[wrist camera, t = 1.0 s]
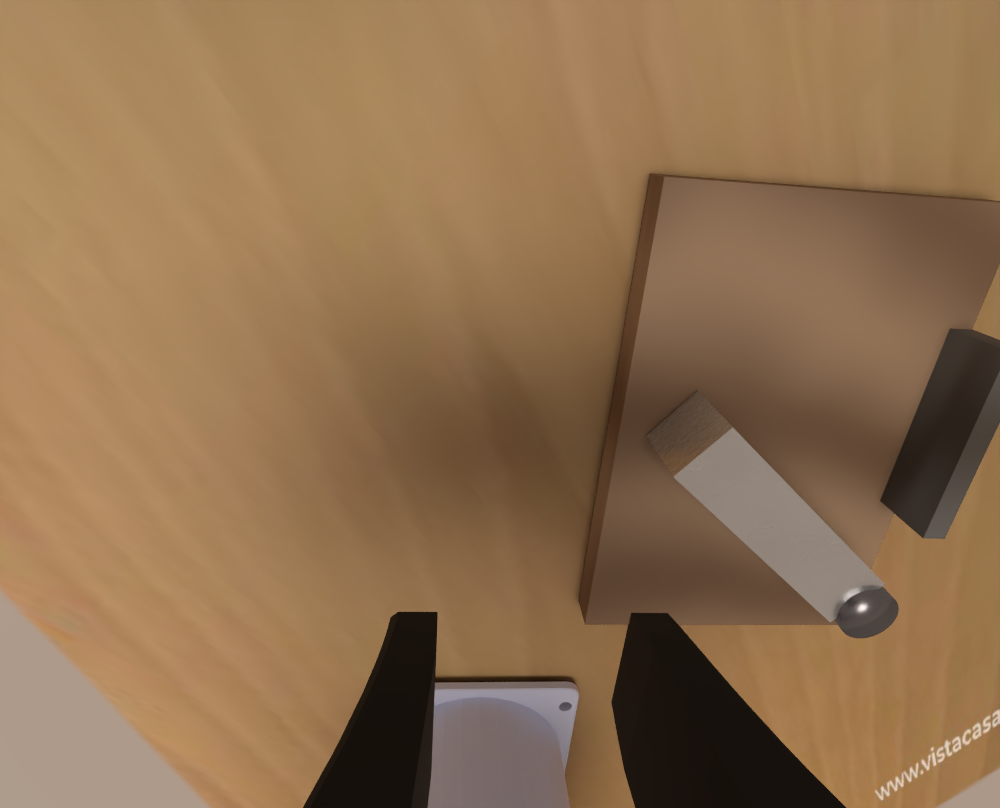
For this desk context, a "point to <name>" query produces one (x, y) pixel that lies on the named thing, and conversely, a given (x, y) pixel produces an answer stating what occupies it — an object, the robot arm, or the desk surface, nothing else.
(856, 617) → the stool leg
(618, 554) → the walnut board
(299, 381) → the desk surface
